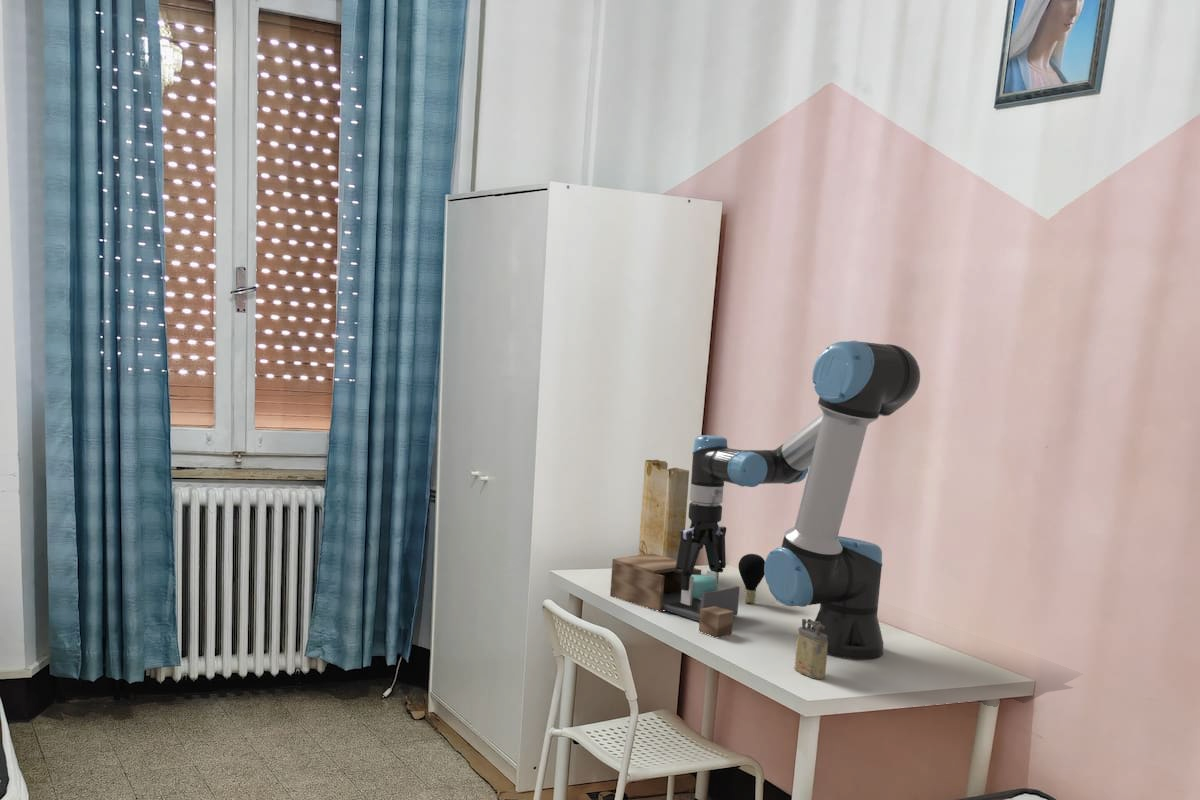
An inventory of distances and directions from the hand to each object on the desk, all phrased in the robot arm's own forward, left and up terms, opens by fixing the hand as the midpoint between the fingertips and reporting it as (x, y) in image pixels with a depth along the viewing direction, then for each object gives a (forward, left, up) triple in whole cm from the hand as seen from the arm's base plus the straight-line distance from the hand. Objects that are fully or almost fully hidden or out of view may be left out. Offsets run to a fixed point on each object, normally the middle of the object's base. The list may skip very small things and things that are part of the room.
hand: (698, 601), depth 224 cm
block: (-13, +9, -3) cm, 16 cm away
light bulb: (-1, -19, -3) cm, 19 cm away
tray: (+2, 0, -2) cm, 3 cm away
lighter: (-40, +14, -3) cm, 42 cm away
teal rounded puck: (0, 0, +2) cm, 2 cm away
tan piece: (+29, -19, -3) cm, 35 cm away
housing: (+13, 0, -3) cm, 14 cm away
